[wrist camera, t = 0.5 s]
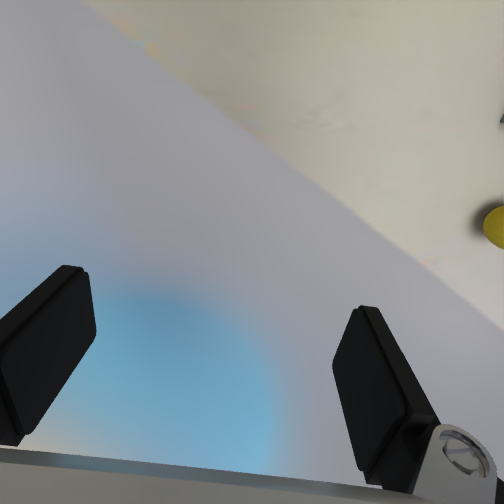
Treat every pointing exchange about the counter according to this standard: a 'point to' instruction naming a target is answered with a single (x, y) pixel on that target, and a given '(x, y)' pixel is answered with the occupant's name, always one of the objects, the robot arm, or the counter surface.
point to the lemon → (495, 227)
